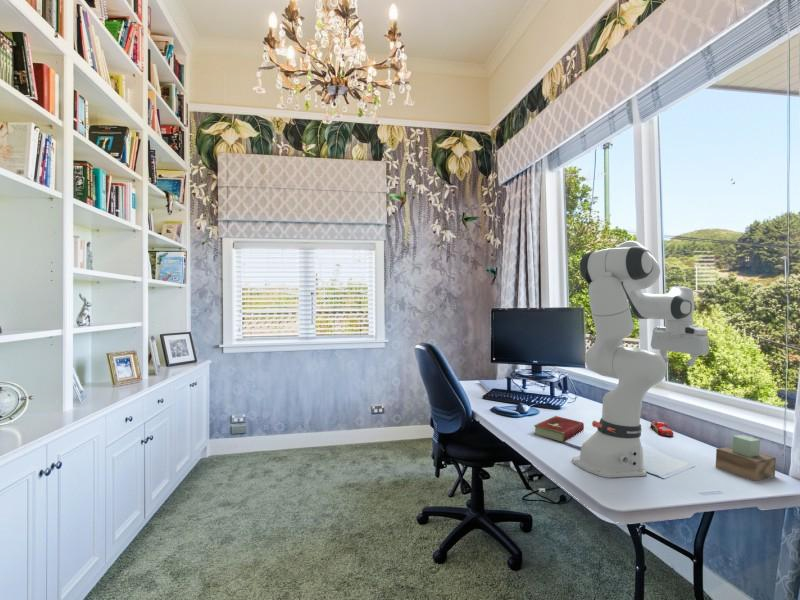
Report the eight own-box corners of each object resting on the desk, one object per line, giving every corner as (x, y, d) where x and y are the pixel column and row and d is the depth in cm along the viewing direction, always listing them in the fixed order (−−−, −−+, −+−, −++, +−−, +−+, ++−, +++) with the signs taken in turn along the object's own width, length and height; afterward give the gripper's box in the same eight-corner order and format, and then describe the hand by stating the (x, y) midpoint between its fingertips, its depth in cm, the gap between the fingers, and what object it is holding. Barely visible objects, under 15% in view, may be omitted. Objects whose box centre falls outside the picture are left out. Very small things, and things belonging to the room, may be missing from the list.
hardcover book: (583, 432, 168) (584, 422, 168) (563, 443, 153) (564, 432, 153) (555, 424, 176) (555, 415, 176) (533, 435, 161) (534, 424, 161)
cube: (750, 456, 129) (750, 441, 129) (732, 451, 134) (732, 436, 134) (759, 455, 131) (759, 439, 131) (741, 449, 136) (742, 434, 136)
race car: (675, 438, 164) (675, 429, 164) (660, 437, 165) (660, 427, 165) (662, 428, 177) (663, 419, 177) (648, 427, 178) (649, 418, 178)
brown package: (754, 480, 125) (755, 461, 125) (715, 466, 135) (716, 448, 135) (774, 476, 129) (775, 457, 129) (735, 462, 140) (736, 445, 139)
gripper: (648, 326, 165) (646, 359, 165) (701, 330, 146) (700, 368, 146) (658, 326, 167) (656, 359, 167) (712, 330, 148) (711, 368, 148)
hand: (677, 363), depth 156 cm, fingers open, 8 cm apart
